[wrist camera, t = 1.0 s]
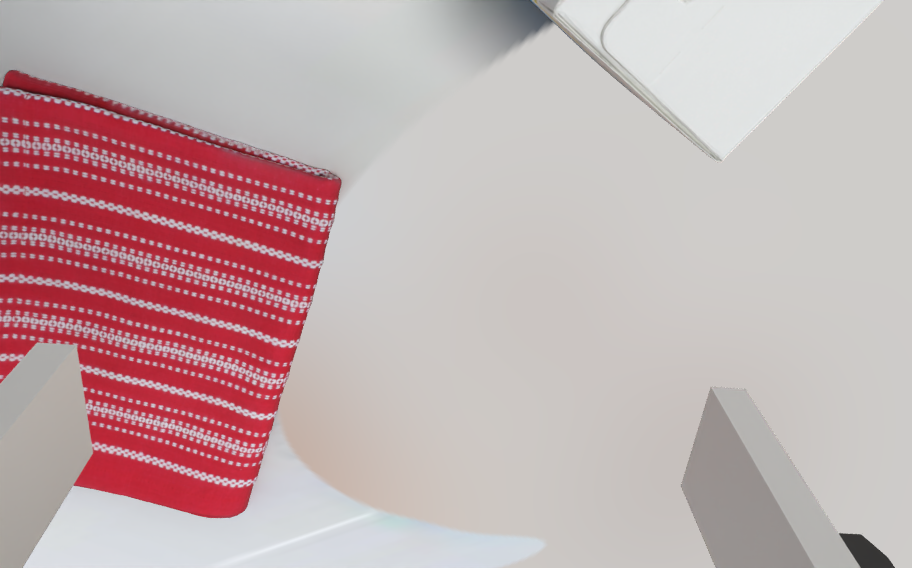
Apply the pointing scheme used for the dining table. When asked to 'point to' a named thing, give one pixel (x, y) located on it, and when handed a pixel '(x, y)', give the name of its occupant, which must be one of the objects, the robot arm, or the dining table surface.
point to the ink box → (709, 55)
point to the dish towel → (157, 284)
